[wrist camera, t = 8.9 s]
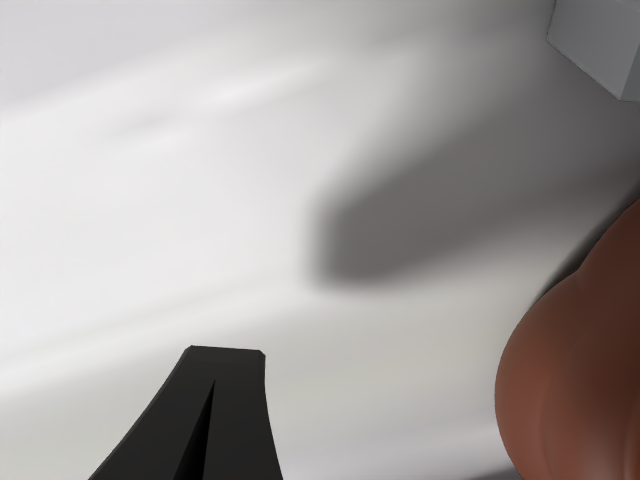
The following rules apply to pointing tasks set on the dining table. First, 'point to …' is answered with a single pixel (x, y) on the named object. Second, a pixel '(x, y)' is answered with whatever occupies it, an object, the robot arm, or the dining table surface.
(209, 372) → the robot arm
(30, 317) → the dining table surface
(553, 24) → the box
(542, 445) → the poop emoji
